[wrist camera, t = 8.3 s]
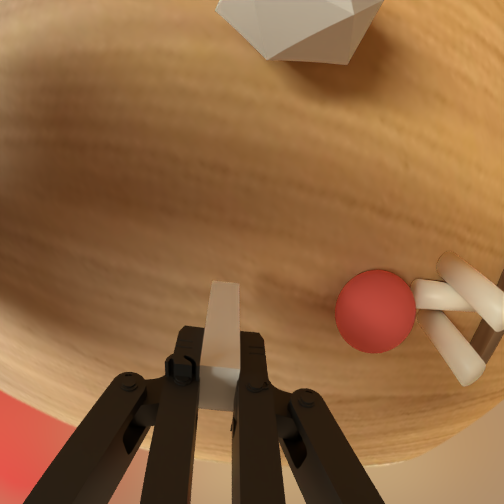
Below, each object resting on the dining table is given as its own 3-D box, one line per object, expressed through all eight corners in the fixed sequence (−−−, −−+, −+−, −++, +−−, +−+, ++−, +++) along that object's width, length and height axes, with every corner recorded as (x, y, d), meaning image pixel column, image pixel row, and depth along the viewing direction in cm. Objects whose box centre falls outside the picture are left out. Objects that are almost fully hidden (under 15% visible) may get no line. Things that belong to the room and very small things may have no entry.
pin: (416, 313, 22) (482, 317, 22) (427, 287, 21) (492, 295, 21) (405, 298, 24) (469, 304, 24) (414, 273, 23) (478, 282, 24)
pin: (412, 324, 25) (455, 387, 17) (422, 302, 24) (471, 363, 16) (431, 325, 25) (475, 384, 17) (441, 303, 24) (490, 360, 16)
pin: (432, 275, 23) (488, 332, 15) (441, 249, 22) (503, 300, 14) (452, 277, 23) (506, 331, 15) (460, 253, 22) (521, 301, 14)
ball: (400, 339, 23) (341, 307, 26) (433, 280, 20) (366, 246, 23) (381, 383, 18) (310, 342, 21) (424, 317, 16) (339, 272, 18)
